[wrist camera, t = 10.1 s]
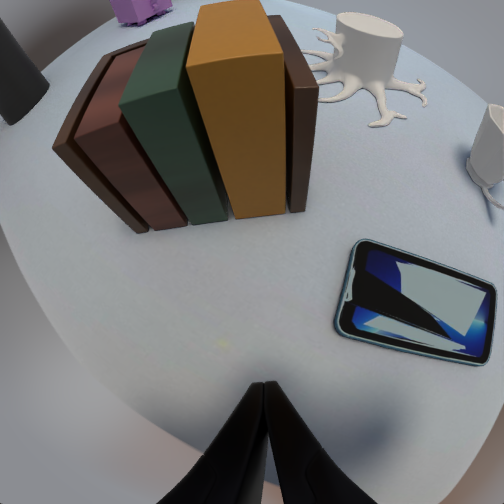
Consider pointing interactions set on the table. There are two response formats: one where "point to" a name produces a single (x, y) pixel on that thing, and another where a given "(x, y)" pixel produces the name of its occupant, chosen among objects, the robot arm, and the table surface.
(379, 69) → the tree stump
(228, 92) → the ochre book
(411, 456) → the table surface
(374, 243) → the smartphone
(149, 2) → the teapot
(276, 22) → the bookshelf
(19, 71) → the vase
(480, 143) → the cup
